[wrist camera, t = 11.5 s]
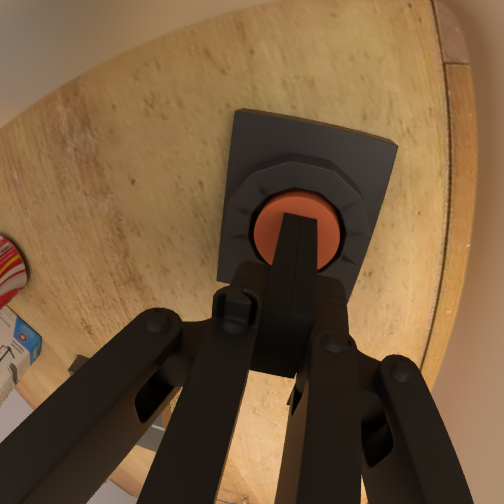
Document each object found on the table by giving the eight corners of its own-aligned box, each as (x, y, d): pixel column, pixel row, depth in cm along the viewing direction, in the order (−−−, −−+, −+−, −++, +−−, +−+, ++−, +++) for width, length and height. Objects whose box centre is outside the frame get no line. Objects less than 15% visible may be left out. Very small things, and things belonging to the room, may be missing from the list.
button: (265, 177, 15) (260, 188, 14) (346, 194, 15) (349, 207, 14) (254, 247, 17) (248, 265, 16) (327, 263, 17) (327, 281, 16)
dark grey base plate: (76, 350, 30) (64, 367, 28) (168, 384, 29) (159, 405, 27) (103, 415, 38) (95, 429, 35) (176, 442, 37) (170, 457, 34)
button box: (242, 107, 16) (224, 114, 13) (390, 139, 15) (408, 153, 12) (223, 266, 21) (207, 299, 18) (344, 292, 20) (347, 328, 17)
